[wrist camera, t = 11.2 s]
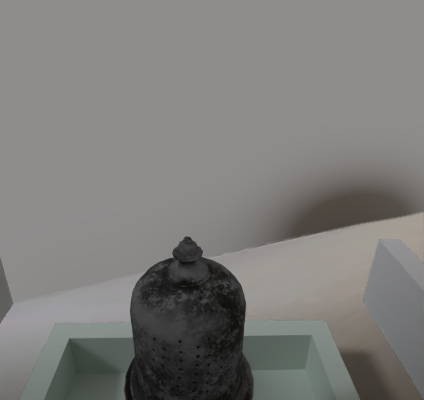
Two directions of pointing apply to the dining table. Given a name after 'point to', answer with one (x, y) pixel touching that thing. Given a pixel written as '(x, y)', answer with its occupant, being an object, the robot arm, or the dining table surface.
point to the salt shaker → (188, 332)
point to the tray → (252, 349)
